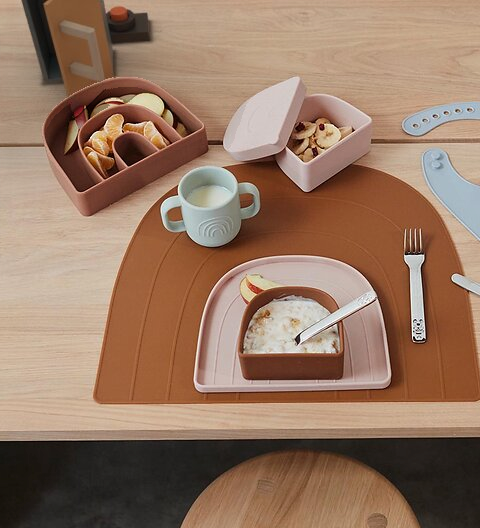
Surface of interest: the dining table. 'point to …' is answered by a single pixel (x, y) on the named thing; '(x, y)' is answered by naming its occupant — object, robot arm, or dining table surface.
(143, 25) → the control block
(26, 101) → the dining table surface
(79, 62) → the cupboard door
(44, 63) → the cupboard
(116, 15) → the button
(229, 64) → the dining table surface
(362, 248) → the dining table surface
